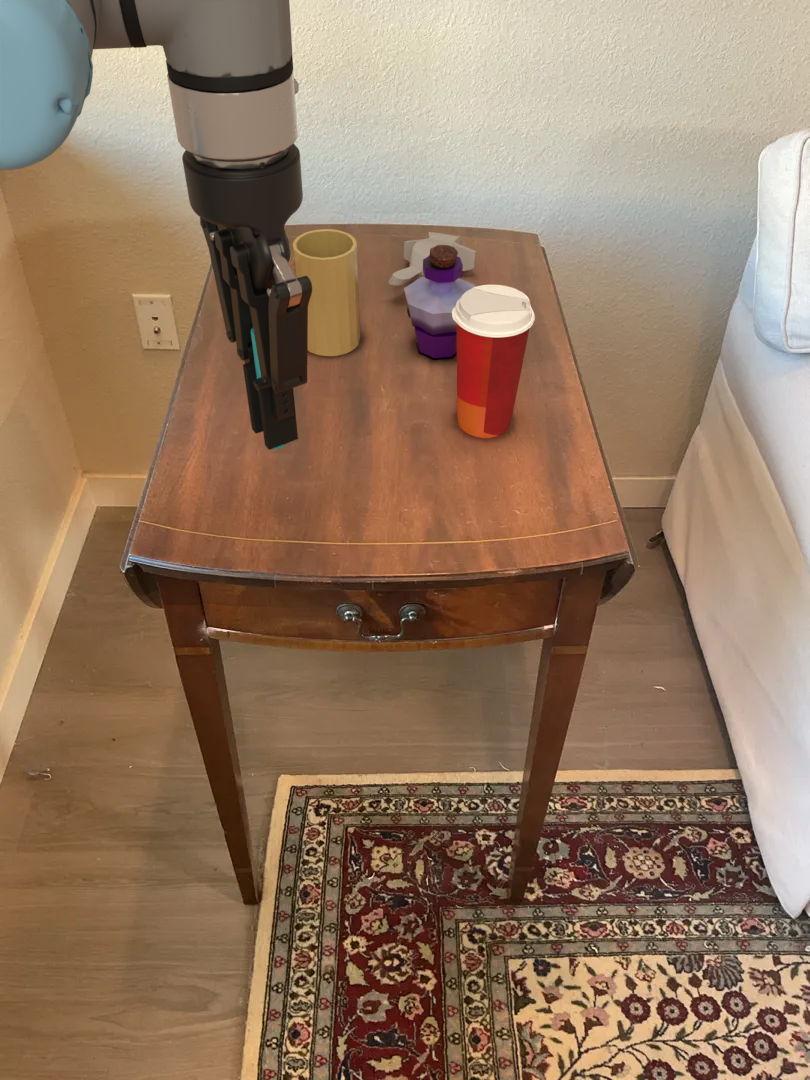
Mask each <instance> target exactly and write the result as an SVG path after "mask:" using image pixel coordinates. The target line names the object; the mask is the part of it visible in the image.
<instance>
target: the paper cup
mask: <svg viewBox="0 0 810 1080" xmlns="http://www.w3.org/2000/svg"><path fill="white" fill-rule="evenodd" d="M452 317H453V320H454V321H455V322H456V323H457V356H456V415H457V416H456V417H457V418H456V419H457V424H458V427H459V428H460V429H461V430H462V431H463V432H464V433H466V434H467V435H469V436H472V437H475V438H480V439H490V438H496V437H499V436H502V435H503V434H505V433H506V432H507V431H508V430H509V428H510V426H511V422H512V417H513V415H514V414H513V413H514V409H515V404H516V399H517V394H518V389H519V385H520V384H519V383H520V378H521V375H522V368H523V365H524V359H525V353H526V348H527V345H528V344H527V343H528V338H529V334H530V329H531V327H532V326H533V325H534V323H535V319H536V315H535V312H534V310H533V308H532V305H531V300H530V298H529V297H528V295H526V294H525V293H524V292H523V291H521V290H519V289H518V288H515V287H511V286H508V285H502V284H483V285H477V286H475V287H474V288H472V289H470V290H468V291H467V292H465V293H464V294H463V295H462V297H461V298H460V299H459V300H458V301H457V303H456V306H455V307H454V308H453V310H452Z"/></svg>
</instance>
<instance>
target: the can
mask: <svg viewBox="0 0 810 1080" xmlns="http://www.w3.org/2000/svg"><path fill="white" fill-rule="evenodd" d="M292 252H293V262H294V275H295V277H296V278H299V277H302V276H308V277H309V279H310V281H311V283H312V294H311V297H310V301H309V304H308V350H307V352H309V353H310V354H311V353H312V354H314V355H317V356H321V357H340V356H343V355H346V354H348V353H349V354H350V353H351V352H352V351H354V350H355V349H357V347H358V346H359V344H360V342H361V327H360V326H361V321H360V320H361V319H360V318H361V317H360V293H359V292H360V291H359V267H358V266H359V263H358V262H359V261H358V243H357V240H356V237H354V236H353V235H351V234H350V233H348V232H345V231H343V230H339V229H330V228H322V229H321V228H320V229H314V230H313V229H312V230H309V231H307V232H303V233H302V234H300V235H299V236H297V237H296V238H295V239H294V240H293V242H292Z"/></svg>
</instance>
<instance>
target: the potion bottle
mask: <svg viewBox="0 0 810 1080" xmlns="http://www.w3.org/2000/svg"><path fill="white" fill-rule="evenodd" d="M457 254H458V252H457V250H456V249H455V248H454V247H452V246H449V245H437V246H435V247H433V248H431V249H430V255H429V256H428V257H426V258H425V259H423V273H424V276H425V277H420V278H419V279H417V280H416V281H414V282H413V283H412V282H410V284H409V285H406V287H404V288H403V291H404V295H405V300H406V304H407V305H406V306H407V307H406V309H407V310H406V312H407V317H408V318H409V319H410V321H411V324H412V325H411V326H412V327H413V328H414V333H415V338H416V343H415V345H416V349H417V353H418V355H421V356H423V357H425V358H427V359H429V360H431V361H442V360H443V361H444V360H453V359H455V357H457V323H456V322H455V321H454V320H453V317H452V310H453V308H454V307H455V306H456V303H457V301H458V300H459V299H460V298H461V297H462V295H463V294H464V293H465V292H467V291H468V290H470V289H472V288H474V287H476V285H475V284H474V283H473V282H470V281H467V280H465V279H462V278H461V277H463V271H462V270H463V264H462V261H461V259H460V257H458V256H457Z"/></svg>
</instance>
